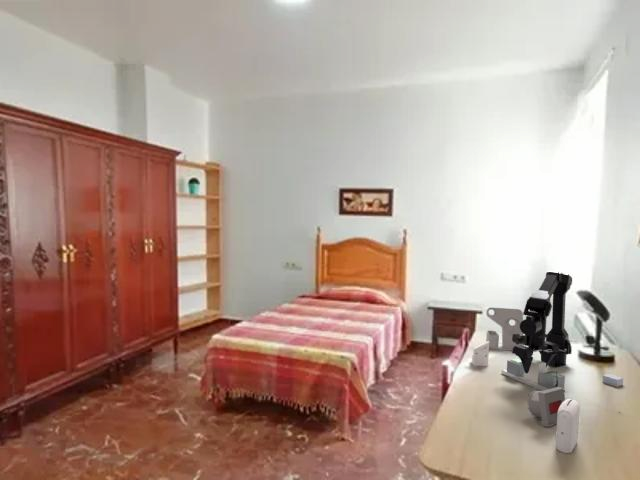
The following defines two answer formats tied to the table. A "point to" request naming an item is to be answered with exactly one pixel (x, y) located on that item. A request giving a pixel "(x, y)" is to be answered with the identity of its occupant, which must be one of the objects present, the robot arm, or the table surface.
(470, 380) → the table surface
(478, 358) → the white angled block
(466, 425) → the table surface
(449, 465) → the table surface
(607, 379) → the relay block
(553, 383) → the rail
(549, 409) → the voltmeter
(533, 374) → the block
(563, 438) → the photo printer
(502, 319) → the grey bracket with hole
